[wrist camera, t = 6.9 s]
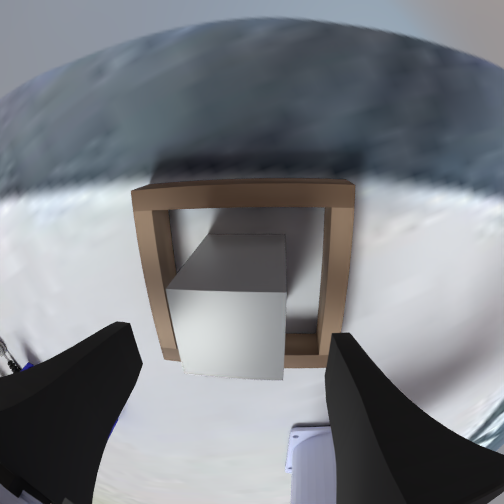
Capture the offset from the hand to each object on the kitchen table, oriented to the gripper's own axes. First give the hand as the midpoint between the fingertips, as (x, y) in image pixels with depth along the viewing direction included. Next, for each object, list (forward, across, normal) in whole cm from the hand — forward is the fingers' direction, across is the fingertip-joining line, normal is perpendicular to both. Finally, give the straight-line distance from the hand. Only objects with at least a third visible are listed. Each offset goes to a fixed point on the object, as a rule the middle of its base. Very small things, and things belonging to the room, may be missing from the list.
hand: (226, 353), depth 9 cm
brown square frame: (+6, 0, 0) cm, 6 cm away
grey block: (+6, 0, 0) cm, 7 cm away
